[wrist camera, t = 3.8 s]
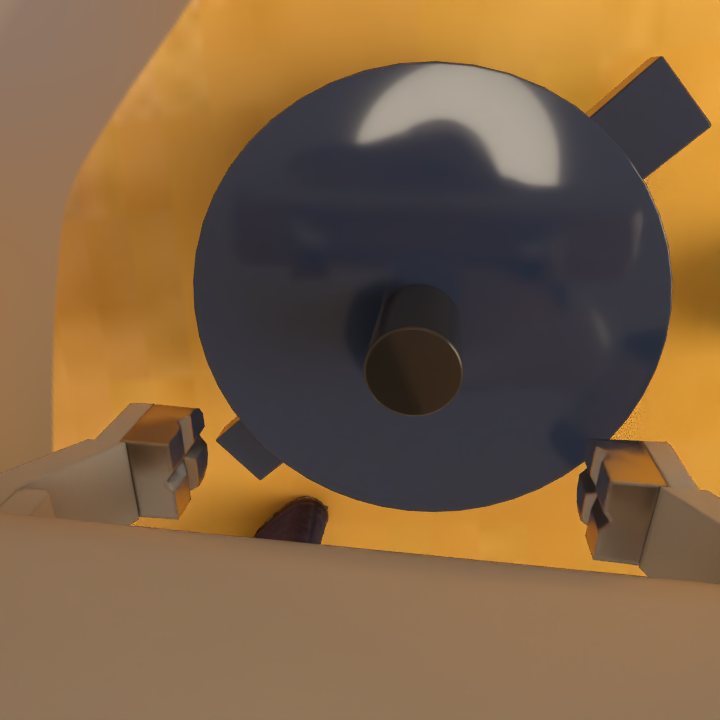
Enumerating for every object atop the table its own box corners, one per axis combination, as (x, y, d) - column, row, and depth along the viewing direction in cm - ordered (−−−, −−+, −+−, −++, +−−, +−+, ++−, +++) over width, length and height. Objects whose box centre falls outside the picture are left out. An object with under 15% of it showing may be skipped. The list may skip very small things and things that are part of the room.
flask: (257, 596, 39) (192, 766, 29) (219, 571, 38) (141, 736, 29) (339, 512, 35) (297, 676, 25) (299, 484, 34) (240, 640, 25)
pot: (705, 213, 25) (834, 282, 17) (380, 450, 33) (355, 581, 24) (501, -58, 22) (532, -141, 14) (194, 270, 30) (90, 347, 21)
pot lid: (758, 333, 18) (847, 407, 14) (405, 553, 24) (395, 652, 20) (445, -72, 15) (443, -128, 11) (122, 292, 21) (41, 345, 17)
